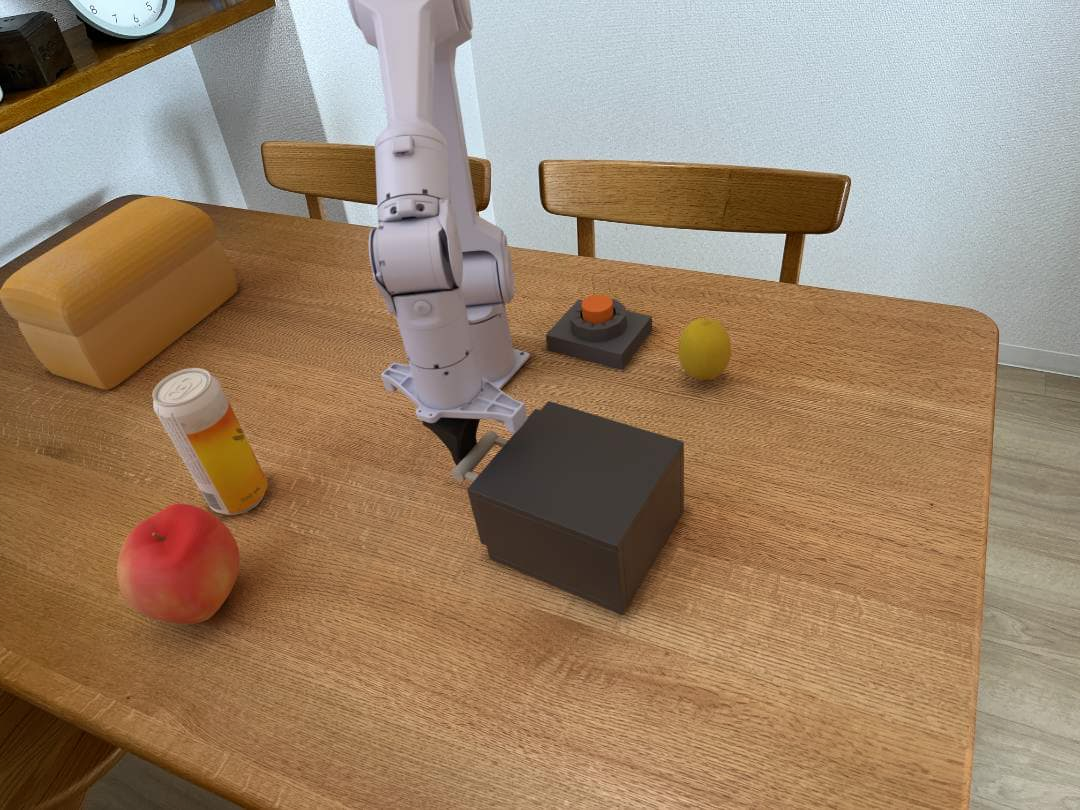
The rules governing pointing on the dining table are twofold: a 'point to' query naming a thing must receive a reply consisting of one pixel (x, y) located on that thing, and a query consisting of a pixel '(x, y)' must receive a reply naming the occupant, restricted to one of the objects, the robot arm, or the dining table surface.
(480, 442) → the drawer
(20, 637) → the dining table surface
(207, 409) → the beer can
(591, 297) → the button
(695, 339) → the lemon
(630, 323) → the block
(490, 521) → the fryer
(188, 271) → the bread
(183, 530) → the apple
